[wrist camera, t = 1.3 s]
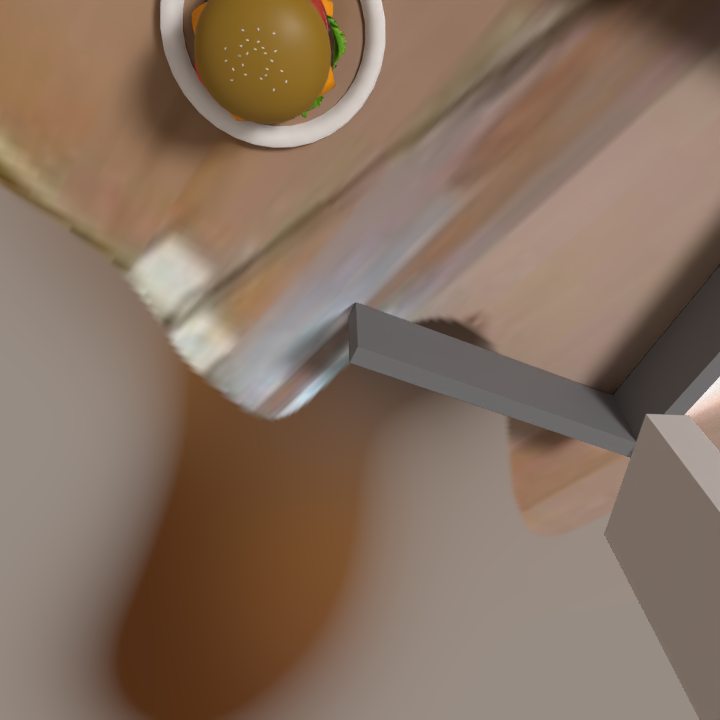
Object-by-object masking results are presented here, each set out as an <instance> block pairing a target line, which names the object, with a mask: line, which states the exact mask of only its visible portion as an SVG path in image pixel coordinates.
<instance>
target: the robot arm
mask: <svg viewBox="0 0 720 720" xmlns="http://www.w3.org/2000/svg"><path fill="white" fill-rule="evenodd" d="M604 535H605V537H606V539H607V541H608V543H609V544H610V547H611V548H612V551H613V553H614V554H615V556H616V558H617V560H618V562H619V564H620V566H621V568H622V570H623V572H624V574H625V576H626V578H627V580H628V582H629V584H630V585H631V587H632V589H633V591H634V593H635V595H636V597H637V599H638V601H639V603H640V605H641V607H642V609H643V610H644V613H645V614H646V617H647V619H648V621H649V622H650V624H651V626H652V628H653V630H654V632H655V634H656V636H657V638H658V640H659V642H660V644H661V646H662V647H663V650H664V652H665V654H666V655H667V657H668V659H669V661H670V663H671V665H672V667H673V669H674V671H675V673H676V675H677V677H678V679H679V680H680V683H681V685H682V687H683V688H684V690H685V692H686V694H687V696H688V698H689V700H690V702H691V704H692V706H693V708H694V710H695V712H696V714H697V716H698V718H699V720H720V452H719V450H718V449H717V448H716V447H715V446H714V444H713V443H712V442H711V441H710V440H709V439H708V437H707V436H706V435H705V434H704V433H703V431H702V430H701V429H700V428H699V427H698V426H697V424H696V423H695V422H694V421H693V420H692V418H691V417H690V416H689V415H663V414H646V415H645V418H644V421H643V424H642V427H641V430H640V433H639V436H638V438H637V441H636V444H635V447H634V450H633V453H632V456H631V458H630V461H629V464H628V467H627V470H626V473H625V476H624V479H623V481H622V484H621V487H620V490H619V493H618V496H617V499H616V502H615V504H614V507H613V510H612V513H611V516H610V519H609V522H608V525H607V527H606V530H605V533H604Z"/></svg>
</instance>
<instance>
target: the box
mask: <svg viewBox="0 0 720 720" xmlns="http://www.w3.org/2000/svg"><path fill="white" fill-rule="evenodd" d="M348 322H349V363H352V364H354V365H358V366H361V367H364V368H366V369H369V370H372V371H375V372H378V373H381V374H384V375H387V376H390V377H393V378H396V379H399V380H402V381H405V382H408V383H411V384H414V385H417V386H420V387H423V388H426V389H429V390H432V391H435V392H438V393H441V394H443V395H447V396H450V397H453V398H455V399H458V400H461V401H464V402H467V403H471V404H473V405H476V406H479V407H482V408H485V409H488V410H491V411H494V412H497V413H500V414H503V415H506V416H509V417H512V418H515V419H518V420H521V421H524V422H527V423H530V424H532V425H535V426H538V427H541V428H544V429H547V430H550V431H553V432H556V433H559V434H562V435H565V436H568V437H571V438H574V439H577V440H580V441H583V442H586V443H589V444H592V445H595V446H598V447H601V448H604V449H607V450H610V451H613V452H616V453H619V454H622V455H624V456H627V457H630V458H631V456H632V453H633V450H634V447H635V444H636V441H637V438H638V436H639V433H640V430H641V427H642V424H643V421H644V418H645V415H646V414H663V415H684V414H685V413H686V412H687V411H688V410H689V409H690V408H691V407H692V406H693V405H694V404H695V403H696V401H697V400H698V399H699V398H700V397H701V396H702V395H703V394H704V393H705V392H706V391H707V390H708V388H709V387H710V386H711V385H712V384H713V383H714V382H715V381H716V380H717V379H718V378H719V376H720V266H719V267H718V268H717V269H716V271H715V272H714V273H713V274H712V276H711V277H710V278H709V279H708V280H707V282H706V283H705V284H704V285H703V286H702V288H701V289H700V290H699V291H698V292H697V294H696V295H695V296H694V297H693V299H692V300H691V301H690V302H689V303H688V305H687V306H686V307H685V308H684V309H683V311H682V312H681V313H680V314H679V316H678V317H677V318H676V319H675V320H674V322H673V323H672V324H671V325H670V326H669V328H668V329H667V330H666V331H665V333H664V334H663V335H662V336H661V337H660V339H659V340H658V341H657V342H656V343H655V345H654V346H653V347H652V348H651V349H650V351H649V352H648V353H647V354H646V356H645V357H644V358H643V359H642V360H641V362H640V363H639V364H638V365H637V366H636V368H635V369H634V370H633V371H632V373H631V374H630V375H629V376H628V377H627V379H626V380H625V381H624V382H623V383H622V385H621V386H620V387H619V388H618V389H617V391H616V392H615V393H614V394H613V395H610V394H607V393H604V392H602V391H599V390H596V389H593V388H591V387H588V386H585V385H582V384H580V383H577V382H574V381H571V380H568V379H566V378H563V377H560V376H557V375H555V374H552V373H549V372H546V371H544V370H541V369H538V368H535V367H533V366H530V365H527V364H524V363H522V362H519V361H516V360H513V359H511V358H508V357H505V356H502V355H500V354H497V353H494V352H491V351H489V350H486V349H483V348H480V347H477V346H475V345H472V344H469V343H466V342H464V341H461V340H458V339H455V338H453V337H450V336H447V335H444V334H442V333H439V332H436V331H433V330H431V329H428V328H425V327H422V326H420V325H417V324H414V323H411V322H409V321H406V320H403V319H400V318H398V317H395V316H392V315H389V314H387V313H384V312H381V311H378V310H375V309H373V308H370V307H367V306H364V305H362V304H359V303H356V304H355V306H354V308H353V310H352V312H351V314H350V316H349V318H348Z"/></svg>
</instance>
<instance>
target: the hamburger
mask: <svg viewBox="0 0 720 720" xmlns="http://www.w3.org/2000/svg"><path fill="white" fill-rule="evenodd" d="M184 1H185V0H161V2H160V30H161V36H162V41H163V47H164V52H165V55H166V58H167V60H168V63H169V66H170V69H171V71H172V74H173V76H174V78H175V79H176V81H177V83H178V85H179V86H180V88H181V90H182V92H183V93H184V95H185V96H186V97H187V99H188V100H189V101H190V102H191V103H192V105H193V106H194V107H195V108H196V109H197V111H198V112H199V113H200V114H202V115H203V116H204V117H205V118H206V119H207V120H209V121H210V122H211V123H212V124H213V125H214V126H216V127H217V128H219V129H221V130H222V131H224V132H226V133H228V134H229V135H231V136H233V137H234V138H237V139H240V140H243V141H245V142H248V143H251V144H254V145H260V146H266V147H272V148H284V147H297V146H301V145H305V144H310V143H314V142H316V141H318V140H320V139H322V138H325V137H327V136H329V135H331V134H333V133H334V132H335V131H337V130H338V129H340V128H341V127H342V126H344V125H345V124H346V123H348V122H349V121H350V120H351V119H352V117H353V116H354V115H355V114H356V113H357V112H358V111H359V110H360V109H361V108H362V106H363V105H364V103H365V101H366V100H367V98H368V97H369V95H370V93H371V92H372V90H373V88H374V86H375V83H376V80H377V78H378V75H379V72H380V70H381V67H382V61H383V55H384V50H385V16H384V11H383V5H382V0H360V2H361V6H362V11H363V16H364V21H365V45H364V51H363V57H362V62H361V64H360V67H359V70H358V73H357V75H356V78H355V79H354V81H353V83H352V85H351V86H350V88H349V90H348V91H347V93H346V94H345V95H344V96H343V97H342V98H341V99H340V101H339V102H338V103H337V104H336V105H335V106H334V107H332V108H331V109H330V110H328V111H327V112H326V113H324V114H323V115H321V116H319V117H317V118H315V119H313V120H310V121H308V122H305V123H301V124H297V125H293V126H269V125H263V124H275V123H282V122H285V121H288V120H291V119H294V118H295V117H297V116H299V115H301V114H302V116H303V117H305V118H306V116H307V111H309V110H311V109H313V108H315V107H316V105H317V106H318V107H319V106H320V102H321V101H322V99H323V98H324V97H323V96H322V95H323V94H325V93H326V92H328V91H329V90H331V89H332V88H333V87H334V86H335V82H334V77H333V73H332V70H333V68H335V67H336V65H335V63H336V62H337V61H338V60H339V58H340V56H341V54H342V53H344V52H345V48H346V47H345V46H344V44H346V40H344V38H345V36H343V37H342V36H341V35H344V32H341V31H339V30H338V28H337V27H338V24H337V23H334V22H336V21H335V20H334V19H332V15H333V2H331V1H329V0H205V1H204V4H202V5H200V6H199V7H197V8H196V9H195V10H194V11H192V26H193V31H194V35H195V36H194V54H195V69H196V71H195V70H194V68H193V66H192V63H191V61H190V58H189V55H188V52H187V49H186V45H185V39H184V33H183V6H184ZM334 65H335V66H334Z"/></svg>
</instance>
